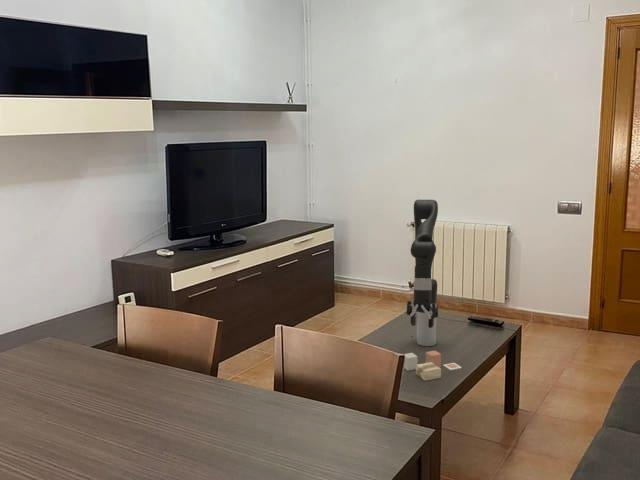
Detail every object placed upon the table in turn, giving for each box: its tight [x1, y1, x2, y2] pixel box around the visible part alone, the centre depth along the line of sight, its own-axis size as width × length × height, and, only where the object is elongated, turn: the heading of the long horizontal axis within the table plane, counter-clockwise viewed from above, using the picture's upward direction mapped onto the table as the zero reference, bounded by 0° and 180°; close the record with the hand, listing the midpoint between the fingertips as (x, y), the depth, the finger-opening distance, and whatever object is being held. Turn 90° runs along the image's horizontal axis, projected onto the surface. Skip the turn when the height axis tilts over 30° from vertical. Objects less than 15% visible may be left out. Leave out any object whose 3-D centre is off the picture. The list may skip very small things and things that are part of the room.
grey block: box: [403, 352, 419, 372], centre depth 281 cm, size 5×5×6 cm
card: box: [442, 362, 462, 371], centre depth 282 cm, size 6×6×1 cm
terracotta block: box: [425, 350, 442, 368], centre depth 283 cm, size 5×5×6 cm
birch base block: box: [415, 362, 442, 381], centre depth 273 cm, size 8×8×4 cm
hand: (421, 326), depth 264 cm, fingers open, 8 cm apart
